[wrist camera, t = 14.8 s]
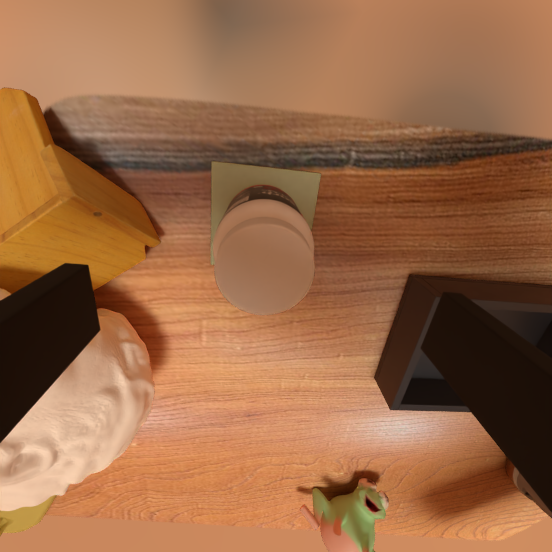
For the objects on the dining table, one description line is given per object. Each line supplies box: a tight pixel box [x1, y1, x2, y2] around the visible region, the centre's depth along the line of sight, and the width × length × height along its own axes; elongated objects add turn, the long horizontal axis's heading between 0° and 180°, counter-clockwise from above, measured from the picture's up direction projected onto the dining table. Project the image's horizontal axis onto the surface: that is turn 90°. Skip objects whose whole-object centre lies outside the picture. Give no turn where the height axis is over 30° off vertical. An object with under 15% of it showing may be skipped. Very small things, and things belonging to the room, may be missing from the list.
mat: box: [211, 161, 321, 265], centre depth 22 cm, size 8×8×1 cm
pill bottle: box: [213, 185, 315, 315], centre depth 17 cm, size 6×6×10 cm
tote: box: [375, 275, 552, 412], centre depth 27 cm, size 17×13×4 cm
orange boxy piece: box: [0, 88, 161, 294], centre depth 20 cm, size 10×10×9 cm
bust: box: [0, 288, 155, 511], centre depth 19 cm, size 12×18×14 cm
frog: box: [300, 478, 389, 552], centre depth 36 cm, size 12×10×9 cm
